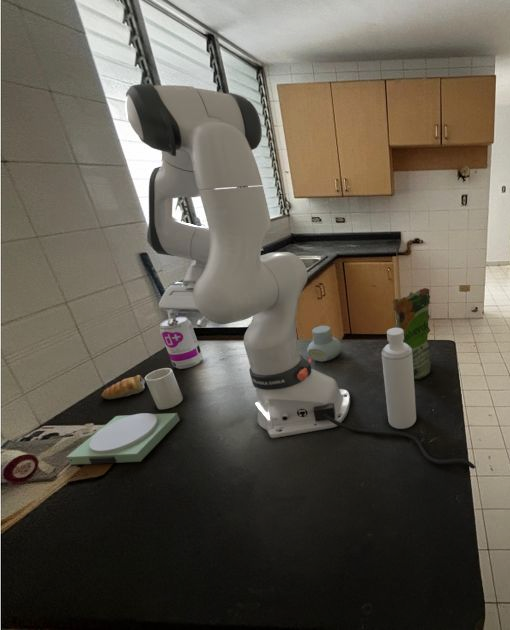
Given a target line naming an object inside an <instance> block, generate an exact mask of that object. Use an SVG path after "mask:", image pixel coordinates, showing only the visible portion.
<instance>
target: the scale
mask: <svg viewBox="0 0 510 630" xmlns="http://www.w3.org/2000/svg"><path fill="white" fill-rule="evenodd" d="M180 420H181V419H180V417H179V414H178V412H174V413H173V412H170V413H148V412H143V413H136V414H130V415H129V414H128V415H116V416H114V417H113V418H112V419H111V420H110V421H108V422H107V423H106V424H105V425H103V426H102V427H101V428H100V429H98V430H97V431H96V432H94V433H93V434H92V435H91V436H90V437H89V438H87V439H86V440H85V441H84V442H83V443H81V444H80V445H79V446H77V447H76V448H75V449H74V450H72V451H71V452H70V453H69V454H68V455H67V456H65V458H66V460H67V461H68V460H72V461H68V463H69V465H71V466H72V465H93V464H95V465H97V464H115V463H138V462H139V463H140V462H142V461H143V459H145V457H147V456H148V455H149V454H150V453H151V451H152V450H153V449H155V447H156V446H157V445H158V444H159V443H160V442H161V441H162V440H163V439H164V437H165V436H166V435H167V434H168V433H169V432H170V431H171V430H172V429H173V428H174V427H175V426H176V425H177V424H178V423H179V422H180Z"/></svg>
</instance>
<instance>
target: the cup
mask: <svg viewBox="0 0 510 630" xmlns="http://www.w3.org/2000/svg"><path fill="white" fill-rule="evenodd" d="M144 381H145V384H146V385H147V387H148V390H149V392H150V395H151V397H152V399H153V401H154V404H155V406H156V408H157V409H158V410H168V409H172V408H174V407H176V406H177V405H180V403H181V402H182V401H183V400H184V396H183V394H182V391H181V388H180V387H179V384H178V381H177V379H176V376H175V374H174V370H173V369H172V368H169V367H164V368H159V369H156V370H153V371H151V372H149V373H148V374H146V375H145V377H144Z"/></svg>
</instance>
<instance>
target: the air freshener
mask: <svg viewBox="0 0 510 630" xmlns="http://www.w3.org/2000/svg"><path fill="white" fill-rule="evenodd" d="M311 335H312V341H311V342H310V343H309V344H308V346H307V348H306V353H307V356H308V357H309V358H310V357H311V360H314V361H317V362H327V361H330V360H334V359H335V358H337V357H338V356H339V355H340V354H341V352H342V350H343V345H342V342H341V341H340V340H339V339H338V338H336V337H334V336H333V333H332V327H331V326H329V325H318V326H316V327H314V328H313V329H312V330H311Z"/></svg>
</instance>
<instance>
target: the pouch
mask: <svg viewBox="0 0 510 630" xmlns="http://www.w3.org/2000/svg"><path fill="white" fill-rule="evenodd" d="M430 299H431V295H430V289H429V288H426V287H423V288H420V289H419V290H416V291H415V292H412V291H411V292H410V293H409V295H408V296H404V297H402V298H394V300H392V301H391V303H392V305H393V311H394V312H395V319H396V323H395V326H394V328H401V329H403V331H404V340H403V343H406V344H407V345H409V346H410V347H411V348H412V349H411V350H412V357H413V372H414V380H421V379H423V378H424V377H426V376H428V375H429V374H430V373H431V366H432V365H431V364H432V363H431V360H430V354H431V353H430V352H431V351H430V350H431V346H430V345H429V341H428V339H429V338H428V337H429V335H428V334H429V333H430V332H431V328H430V326H429V320H430V318H431V315H430V313H429V312H430V311H429V309H430V308H429V305H430V304H431V301H430Z"/></svg>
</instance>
